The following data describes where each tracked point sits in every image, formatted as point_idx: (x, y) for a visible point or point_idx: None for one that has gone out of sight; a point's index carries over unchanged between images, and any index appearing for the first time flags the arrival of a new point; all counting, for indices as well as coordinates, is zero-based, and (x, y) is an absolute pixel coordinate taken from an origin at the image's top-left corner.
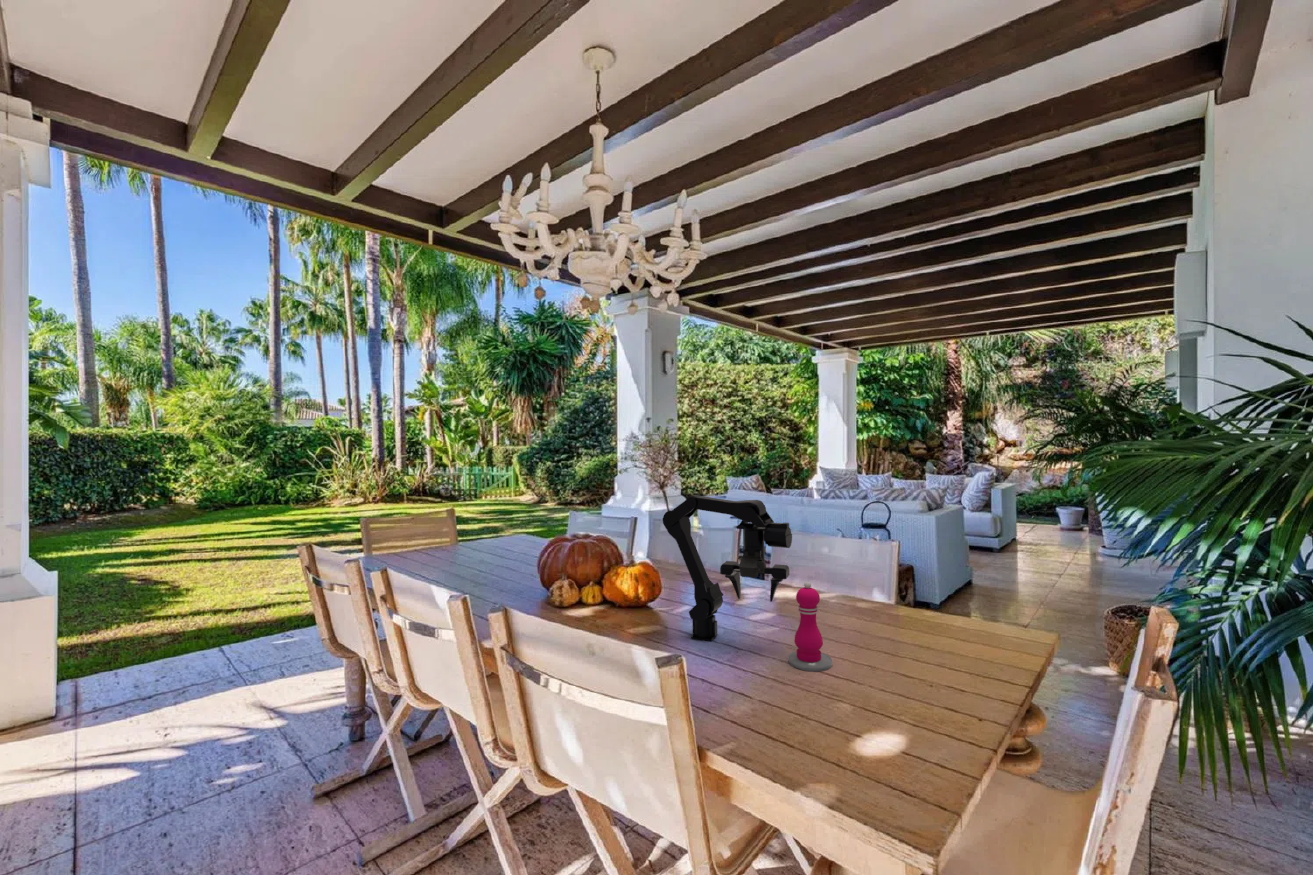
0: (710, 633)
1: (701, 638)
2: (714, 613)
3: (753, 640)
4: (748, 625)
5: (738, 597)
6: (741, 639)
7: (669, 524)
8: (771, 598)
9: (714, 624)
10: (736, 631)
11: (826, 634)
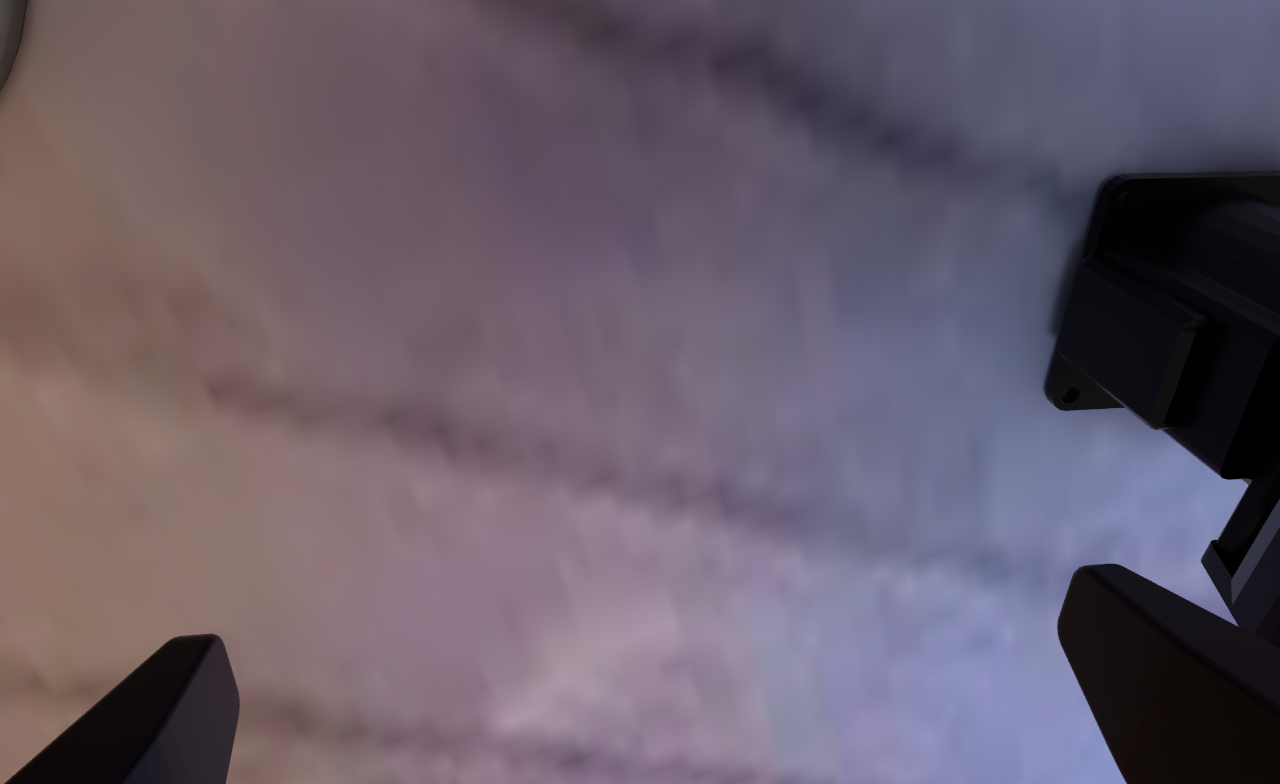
0: (1156, 254)
1: (1228, 175)
2: (1236, 510)
3: (650, 375)
4: (774, 688)
5: (1125, 580)
6: (780, 356)
7: None
8: (123, 703)
9: (1181, 316)
10: (862, 530)
11: (21, 754)
